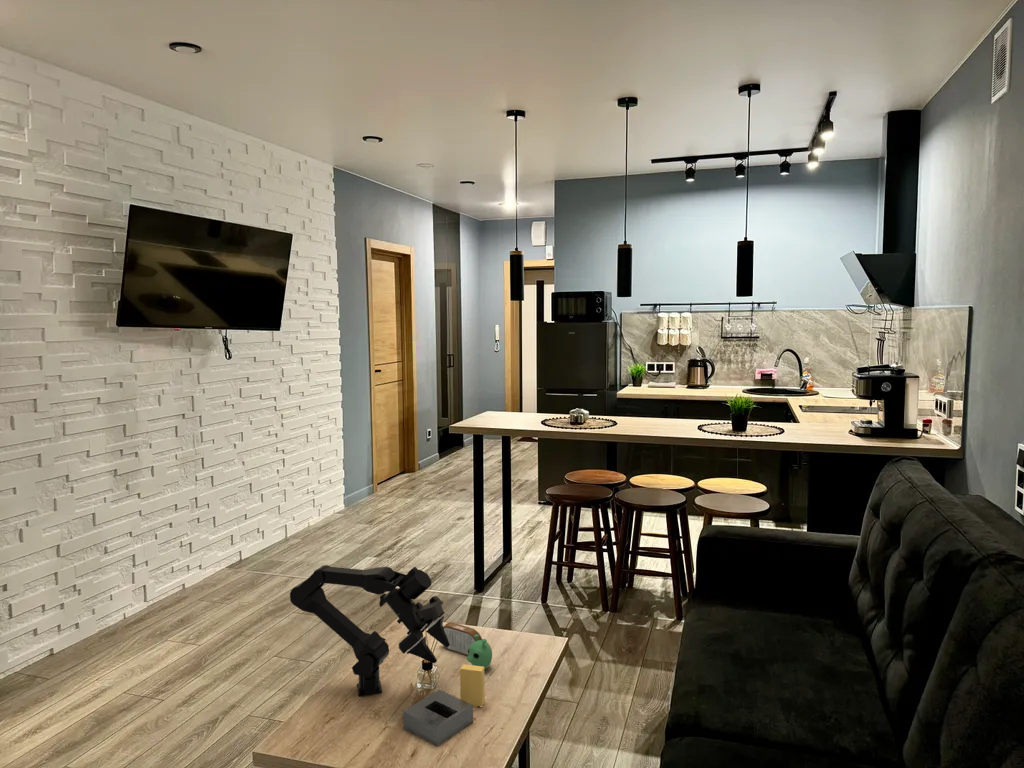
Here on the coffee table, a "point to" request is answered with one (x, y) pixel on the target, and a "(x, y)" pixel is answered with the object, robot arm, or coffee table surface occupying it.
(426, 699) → the box
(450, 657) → the coffee table surface
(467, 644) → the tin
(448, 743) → the coffee table surface
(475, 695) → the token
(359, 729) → the coffee table surface
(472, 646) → the alien toy
